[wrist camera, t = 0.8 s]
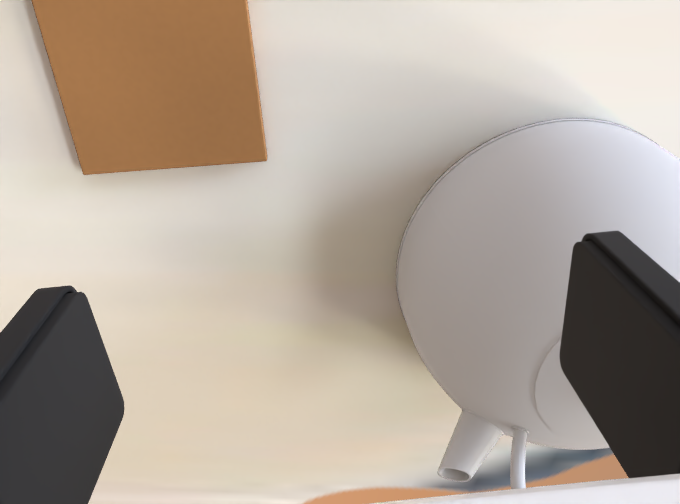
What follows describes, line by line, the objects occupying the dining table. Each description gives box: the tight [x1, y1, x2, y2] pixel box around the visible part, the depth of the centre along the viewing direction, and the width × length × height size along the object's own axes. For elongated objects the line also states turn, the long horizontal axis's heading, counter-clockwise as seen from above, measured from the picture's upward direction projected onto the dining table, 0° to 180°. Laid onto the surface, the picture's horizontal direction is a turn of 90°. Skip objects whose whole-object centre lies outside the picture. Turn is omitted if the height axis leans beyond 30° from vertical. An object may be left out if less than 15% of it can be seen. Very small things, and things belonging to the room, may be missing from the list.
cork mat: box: [32, 0, 267, 175], centre depth 32 cm, size 20×12×1 cm, turn 3°
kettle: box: [396, 118, 680, 489], centre depth 32 cm, size 25×23×22 cm
